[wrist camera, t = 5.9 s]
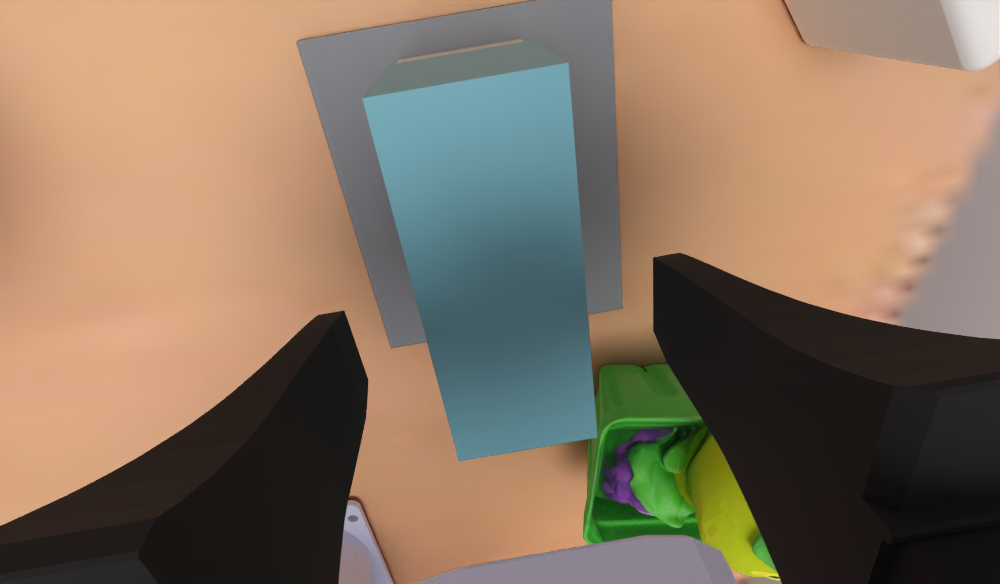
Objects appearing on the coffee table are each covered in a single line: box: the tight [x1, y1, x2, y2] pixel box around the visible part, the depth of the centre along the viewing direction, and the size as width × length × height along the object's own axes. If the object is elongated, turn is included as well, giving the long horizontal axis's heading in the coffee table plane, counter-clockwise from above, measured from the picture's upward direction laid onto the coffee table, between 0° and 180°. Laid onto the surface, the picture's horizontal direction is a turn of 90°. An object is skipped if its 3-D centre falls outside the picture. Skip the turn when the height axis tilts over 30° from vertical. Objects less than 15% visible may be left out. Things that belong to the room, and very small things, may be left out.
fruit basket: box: [583, 364, 780, 580], centre depth 21 cm, size 11×9×11 cm
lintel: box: [362, 40, 597, 461], centre depth 15 cm, size 10×4×5 cm, turn 8°
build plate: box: [296, 0, 623, 348], centre depth 20 cm, size 12×10×1 cm
